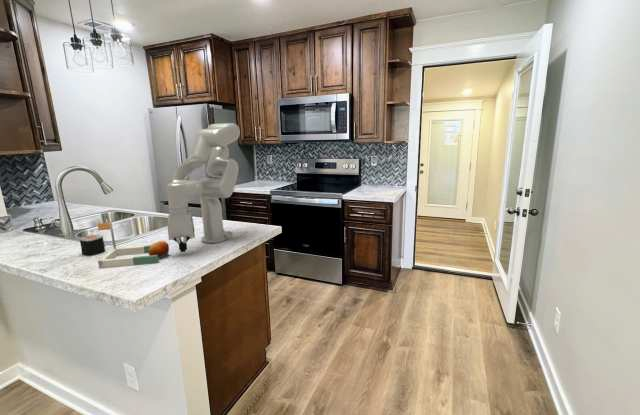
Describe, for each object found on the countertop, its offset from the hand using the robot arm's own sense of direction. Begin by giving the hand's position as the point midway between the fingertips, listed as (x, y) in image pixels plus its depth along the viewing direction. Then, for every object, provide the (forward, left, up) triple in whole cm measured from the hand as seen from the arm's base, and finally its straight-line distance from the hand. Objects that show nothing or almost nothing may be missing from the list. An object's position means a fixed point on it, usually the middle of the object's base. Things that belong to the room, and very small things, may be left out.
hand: (183, 251), depth 134 cm
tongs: (+22, 0, -2) cm, 22 cm away
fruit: (+10, 0, -2) cm, 10 cm away
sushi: (+41, -13, -2) cm, 43 cm away
